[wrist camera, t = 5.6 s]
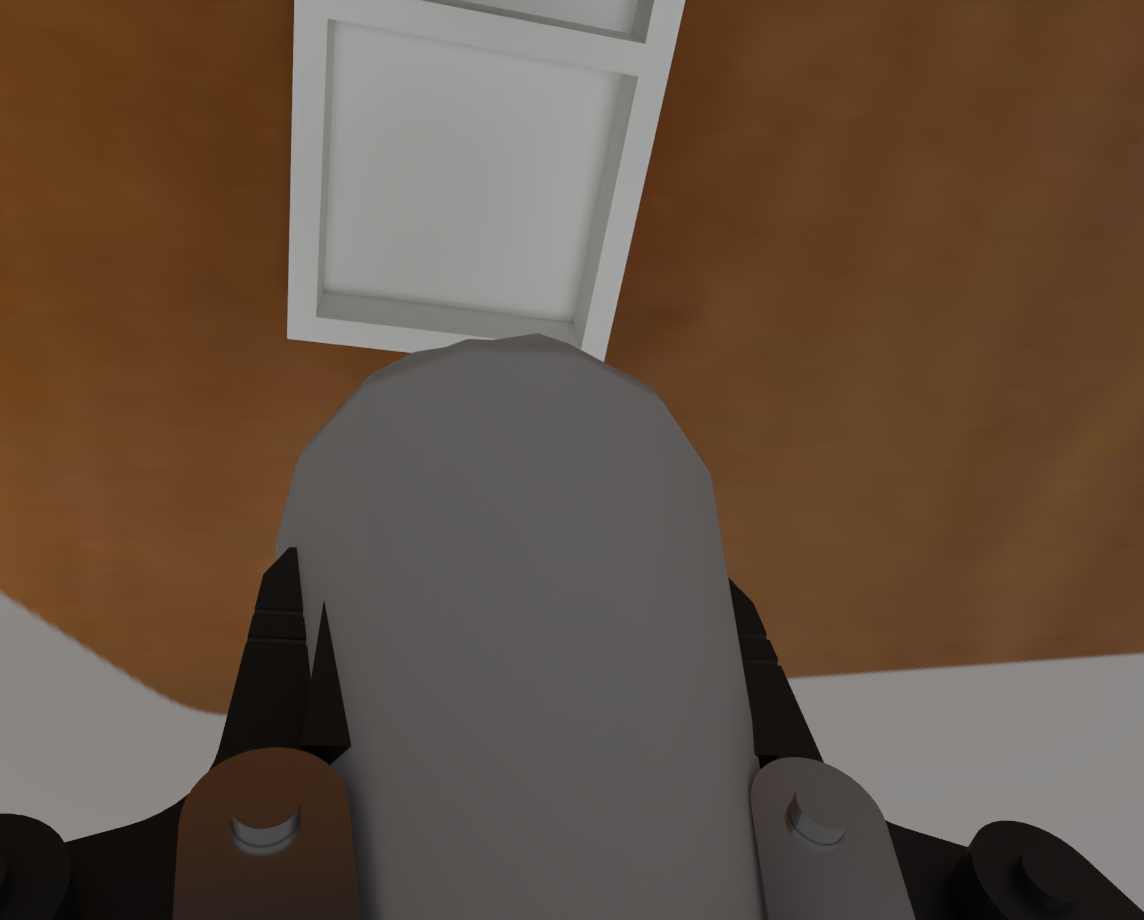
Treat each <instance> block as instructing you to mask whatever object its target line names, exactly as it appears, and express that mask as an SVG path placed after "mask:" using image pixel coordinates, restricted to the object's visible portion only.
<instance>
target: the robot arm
mask: <svg viewBox="0 0 1144 920" xmlns="http://www.w3.org/2000/svg"><path fill="white" fill-rule="evenodd" d="M728 580H729V586H730V592H731V598H732V604H733V610H734V616H735V622H736V628H737V634H738V640H739V646H740V652H741V658H742V664H743V670H744V675H745V681H746V687H747V693H748V699H749V705H750V711H751V717H752V727H753V741H754V755H755V756H757V757H758V759H759V765H760V771H759V772H758V773H757V775H756V776H755V778H754V780H753V783H752V785H751V787H750V795H749V799H750V811H751V819H752V827H753V834H754V842H755V850H756V858H757V866H758V874H759V882H760V889H761V897H762V905H763V913H764V920H1144V912H1143V911H1142V910H1141V909H1140V908H1139V907H1138V906H1137V905H1135V904H1134V903H1133V902H1132V901H1131V900H1130V899H1129V898H1128V897H1127V896H1126V895H1124V893H1122V892H1121V891H1120V890H1119V889H1118V888H1117V887H1116V886H1115V885H1114V884H1113V883H1111V882H1110V881H1109V880H1108V879H1107V878H1106V877H1105V876H1104V875H1103V874H1102V873H1101V872H1099V871H1098V870H1097V869H1096V868H1095V867H1094V866H1093V865H1092V864H1091V863H1090V862H1089V861H1088V860H1086V859H1085V858H1084V857H1083V856H1082V855H1081V854H1080V853H1078V852H1077V851H1076V850H1075V849H1074V848H1072V847H1071V846H1069V845H1068V844H1067V843H1065V842H1064V841H1062V840H1061V839H1059V838H1058V837H1056V836H1054V835H1052V834H1051V833H1049V832H1047V831H1044V830H1042V829H1040V828H1038V827H1035V826H1032V825H1029V824H1025V823H1022V822H1016V821H997V822H992V823H990V824H988V825H985V826H984V827H983V828H981V829H980V830H979V831H978V833H977V834H976V835H975V837H974V838H973V840H972V841H971V843H970V845H969V846H968V847H965V846H962V845H958V844H956V843H952V842H949V841H945V840H942V839H939V838H936V837H933V836H929V835H926V834H923V833H919V832H916V831H913V830H910V829H906V828H903V827H901V826H898V825H895V824H892V823H890V822H888V821H886V820H885V819H884V816H883V814H882V813H881V811H880V809H879V807H878V806H877V804H876V803H875V801H874V800H873V799H872V798H871V796H870V795H869V794H868V793H867V792H866V791H865V790H864V789H863V788H862V787H861V785H859V784H858V783H857V782H856V781H854V780H853V779H852V778H851V777H849V776H848V775H846V774H845V773H843V772H841V771H840V770H838V769H836V768H834V767H832V766H830V765H828V764H825V763H824V762H823V760H822V757H821V755H820V753H819V750H818V748H817V746H816V744H815V742H814V739H813V737H812V735H811V732H810V730H809V728H808V726H807V723H806V721H805V719H804V717H803V714H802V712H801V710H800V708H799V705H798V703H797V701H796V699H795V696H794V694H793V692H792V690H791V687H790V685H789V683H788V681H787V678H786V676H785V674H784V671H783V669H782V667H781V666H778V658H777V656H776V653H775V651H774V649H773V647H772V644H771V642H770V640H767V639H766V635H767V633H766V631H765V629H764V626H763V624H762V622H761V620H760V617H759V615H758V613H757V611H756V608H755V606H754V604H753V602H752V601H751V600H750V599H749V598H748V597H747V596H746V595H745V594H744V593H743V592H742V591H741V590H740V589H739V588H738V587H737V586H736V585H735V584H734V583H733V582H732V581H731V580H730V579H729V577H728ZM350 747H351V741H350V735H349V730H348V725H347V719H346V714H345V709H344V703H343V698H342V693H341V687H340V682H339V677H338V671H337V666H336V661H335V655H334V650H333V644H332V639H331V634H330V628H329V623H328V618H327V612H326V607H325V602H324V601H323V608H322V614H321V620H320V626H319V632H318V639H317V645H316V651H315V657H314V663H313V670H312V676H311V675H310V666H309V657H308V647H307V645H306V629H305V619H304V617H303V601H302V592H301V582H300V573H299V564H298V554H297V547H289V548H288V549H287V550H286V551H285V552H284V553H283V554H282V555H281V556H280V557H279V558H278V559H277V561H276V562H275V563H274V564H273V565H272V566H271V567H270V568H269V569H268V570H267V571H266V572H265V573H264V574H263V578H262V582H261V586H260V590H259V594H258V598H257V602H256V605H255V612H254V614H253V617H252V621H251V625H250V629H249V633H248V640H247V643H246V645H245V648H244V652H243V656H242V660H241V664H240V668H239V672H238V676H237V680H236V684H235V688H234V691H233V695H232V699H231V703H230V707H229V711H228V715H227V719H226V723H225V727H224V731H223V735H222V739H221V742H220V746H219V750H218V753H217V755H216V758H215V761H214V763H213V764H212V766H211V768H210V770H209V771H208V773H206V774H205V775H204V776H203V777H202V778H201V779H200V780H199V781H198V782H197V784H196V785H195V786H194V787H193V788H192V790H191V792H190V793H189V794H188V795H186V796H185V797H184V798H182V799H181V800H180V801H178V802H177V803H176V804H174V805H173V806H171V807H169V808H168V809H166V810H164V811H163V812H161V813H159V814H157V815H154V816H152V817H150V818H148V819H145V820H143V821H140V822H137V823H134V824H131V825H128V826H124V827H121V828H117V829H113V830H109V831H106V832H102V833H98V834H94V835H91V836H87V837H83V838H80V839H76V840H72V841H69V842H65V843H64V842H63V840H62V838H61V837H60V835H59V834H58V833H57V832H56V831H55V830H53V829H52V828H51V827H50V826H48V825H47V824H45V823H43V822H41V821H39V820H37V819H34V818H31V817H27V816H24V815H16V814H0V920H362V919H361V910H360V900H359V891H358V882H357V873H356V864H355V855H354V846H353V837H352V828H351V819H350V810H349V801H348V796H347V792H346V788H345V786H344V784H343V782H342V780H341V778H340V777H339V775H338V774H337V773H336V771H335V770H334V769H333V768H332V767H330V765H331V764H332V763H333V762H334V761H335V760H336V759H337V758H339V757H340V756H341V755H342V754H343V753H344V752H345V751H346V750H348V749H349V748H350Z"/></svg>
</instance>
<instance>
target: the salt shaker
mask: <svg viewBox="0 0 1144 920" xmlns="http://www.w3.org/2000/svg"><path fill="white" fill-rule="evenodd" d="M275 545H276V561H277V559H278V558H279V557H280V556H281V555H282V554H283V553H284V552H285V551H286V550H287V549H288V548H289V547H297V554H298V564H299V573H300V582H301V592H302V601H303V617H304V619H305V629H306V645H307V647H308V657H309V666H310V675H311V676H312V670H313V663H314V657H315V651H316V645H317V639H318V632H319V626H320V620H321V614H322V608H323V601H324V602H325V607H326V612H327V618H328V623H329V628H330V634H331V639H332V644H333V650H334V655H335V661H336V666H337V671H338V677H339V682H340V687H341V693H342V698H343V703H344V709H345V714H346V719H347V725H348V730H349V735H350V741H351V747H350V748H349V749H348V750H346V751H345V752H344V753H343V754H342V755H341V756H340V757H339V758H337V759H336V760H335V761H334V762H333V763H332V764H331V765H330V767H332V768H333V769H334V770H335V771H336V773H337V774H338V775H339V777H340V778H341V780H342V782H343V784H344V786H345V788H346V792H347V796H348V801H349V810H350V819H351V828H352V837H353V846H354V855H355V864H356V873H357V882H358V891H359V900H360V910H361V919H362V920H764V913H763V905H762V897H761V889H760V882H759V874H758V866H757V858H756V850H755V842H754V834H753V827H752V819H751V811H750V799H749V795H750V787H751V785H752V783H753V780H754V778H755V776H756V775H757V773H758V772H759V771H760V765H759V759H758V757H757V756H755V755H754V741H753V727H752V717H751V711H750V705H749V699H748V693H747V687H746V681H745V675H744V670H743V664H742V658H741V652H740V646H739V640H738V634H737V628H736V622H735V616H734V610H733V604H732V598H731V592H730V586H729V580H728V574H727V568H726V562H725V556H724V550H723V544H722V538H721V532H720V526H719V520H718V514H717V508H716V502H715V497H714V491H713V485H712V479H711V474H710V472H709V471H708V469H707V468H706V466H705V465H704V463H703V462H702V460H701V459H700V457H699V456H698V454H697V453H696V451H695V450H694V448H693V447H692V445H691V444H690V442H689V441H688V439H687V438H686V436H685V435H684V433H683V431H682V430H681V428H680V427H679V425H678V424H677V422H676V421H675V419H674V418H673V416H672V415H671V413H670V412H669V410H668V409H667V407H666V406H665V404H664V403H663V402H662V400H661V399H660V398H659V397H658V395H657V394H656V393H655V391H654V390H653V389H652V388H651V387H650V386H648V385H646V384H644V383H642V382H640V381H638V380H636V379H635V378H633V377H631V376H629V375H627V374H625V373H623V372H621V371H620V370H618V369H616V368H614V367H612V366H610V365H608V364H606V363H605V362H603V361H601V360H599V359H597V358H595V357H593V356H591V355H590V354H588V353H586V352H584V351H582V350H580V349H578V348H576V347H575V346H573V345H571V344H569V343H566V342H563V341H560V340H557V339H554V338H551V337H548V336H545V335H542V334H539V333H535V334H529V335H522V336H516V337H509V338H502V339H496V340H482V339H466V340H463V341H460V342H458V343H455V344H452V345H449V346H447V347H443V348H436V349H430V350H423V351H417V352H413V353H411V354H409V355H407V356H405V357H403V358H401V359H399V360H397V361H395V362H393V363H391V364H389V365H388V366H386V367H384V368H382V369H380V370H378V371H376V372H374V373H372V374H370V375H369V376H368V377H367V378H366V379H365V381H364V382H363V383H362V384H361V385H360V386H359V387H358V388H357V389H356V390H355V391H354V393H353V394H352V395H351V396H350V397H349V398H348V399H347V400H346V401H345V402H344V404H343V405H342V406H341V407H340V408H339V409H338V410H337V411H336V412H335V413H334V414H333V416H332V417H331V418H330V419H329V420H328V421H327V422H326V423H325V424H324V425H323V426H322V428H321V429H320V430H319V431H318V432H317V433H316V434H315V435H314V436H313V437H312V438H311V440H310V441H309V442H308V444H307V445H306V447H305V449H304V450H303V452H302V454H301V455H300V457H299V458H298V460H297V462H296V466H295V470H294V474H293V477H292V481H291V485H290V489H289V493H288V497H287V501H286V505H285V509H284V513H283V517H282V521H281V524H280V528H279V532H278V536H277V540H276V544H275Z"/></svg>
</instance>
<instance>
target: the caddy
mask: <svg viewBox="0 0 1144 920" xmlns="http://www.w3.org/2000/svg"><path fill="white" fill-rule="evenodd" d="M684 4H685V0H294V46H293V92H292V138H291V184H290V230H289V276H288V322H287V339H294V340H303V341H312V342H320V343H329V344H338V345H347V346H356V347H364V348H373V349H382V350H391V351H399V352H408V353H413V352H417V351H423V350H430V349H436V348H443V347H447V346H449V345H452V344H455V343H458V342H460V341H463V340H466V339H482V340H496V339H502V338H509V337H516V336H522V335H529V334H535V333H539V334H542V335H545V336H548V337H551V338H554V339H557V340H560V341H563V342H566V343H569V344H571V345H573V346H575V347H576V348H578V349H580V350H582V351H584V352H586V353H588V354H590V355H591V356H593V357H595V358H597V359H599V360H601V361H603V362H604V359H605V354H606V350H607V345H608V341H609V336H610V332H611V328H612V323H613V319H614V314H615V310H616V305H617V301H618V297H619V292H620V288H621V283H622V279H623V274H624V270H625V266H626V261H627V257H628V252H629V248H630V243H631V239H632V235H633V230H634V226H635V221H636V217H637V213H638V208H639V204H640V199H641V195H642V190H643V186H644V182H645V177H646V173H647V168H648V164H649V159H650V155H651V151H652V146H653V142H654V137H655V133H656V128H657V124H658V120H659V115H660V111H661V106H662V102H663V97H664V93H665V89H666V84H667V80H668V75H669V71H670V66H671V62H672V58H673V53H674V49H675V44H676V40H677V35H678V31H679V27H680V22H681V18H682V13H683V9H684Z"/></svg>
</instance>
